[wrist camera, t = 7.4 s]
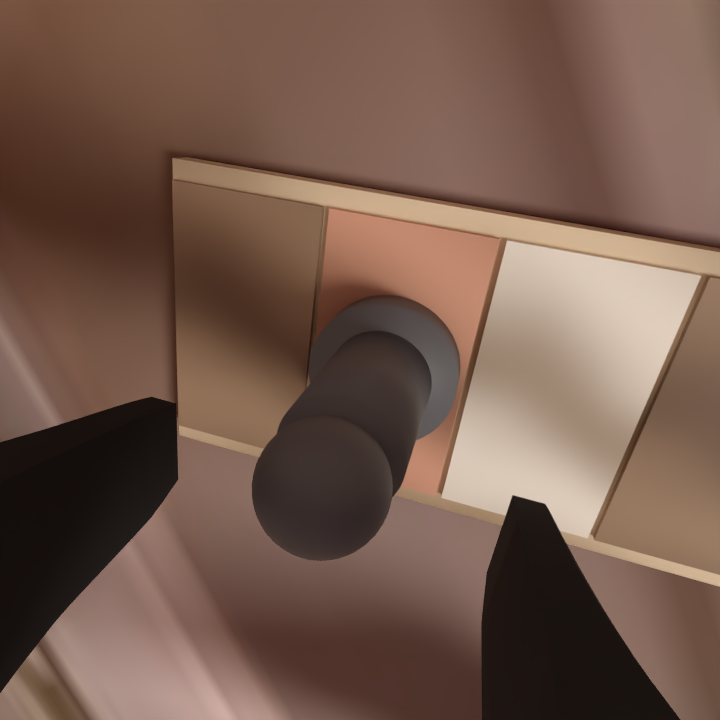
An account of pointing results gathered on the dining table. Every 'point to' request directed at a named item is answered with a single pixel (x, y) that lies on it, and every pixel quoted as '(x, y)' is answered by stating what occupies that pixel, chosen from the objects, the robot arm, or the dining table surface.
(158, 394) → the dining table surface
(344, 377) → the pawn
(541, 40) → the dining table surface
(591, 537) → the board
